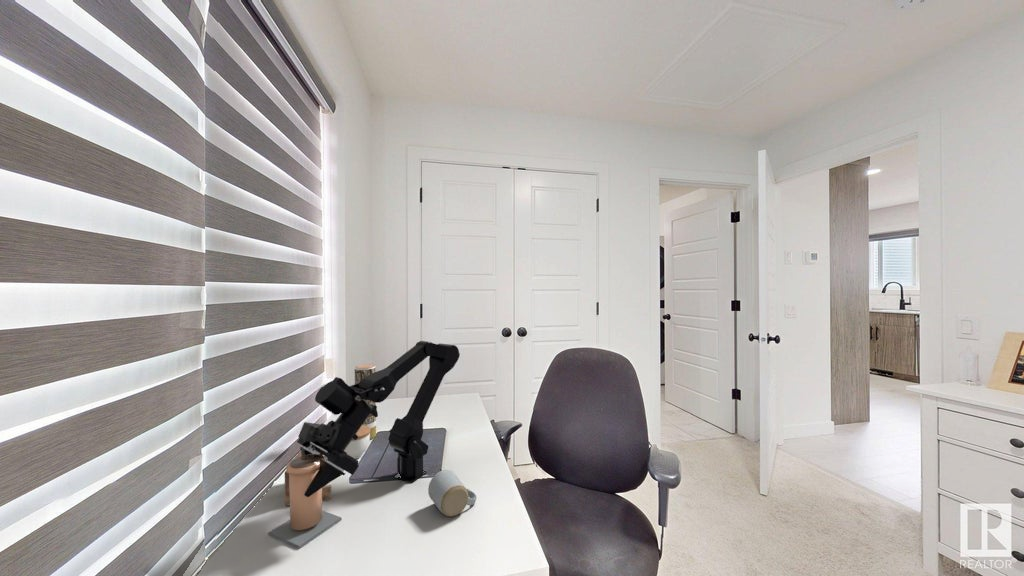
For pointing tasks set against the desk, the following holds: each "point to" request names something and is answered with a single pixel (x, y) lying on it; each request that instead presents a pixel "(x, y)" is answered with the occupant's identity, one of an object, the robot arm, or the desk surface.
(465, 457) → the desk surface
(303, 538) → the slate mat
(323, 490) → the light wood arch piece
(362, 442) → the lidded jar
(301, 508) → the terracotta pot
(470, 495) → the ceramic mug
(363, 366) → the bark log
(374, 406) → the robot arm
